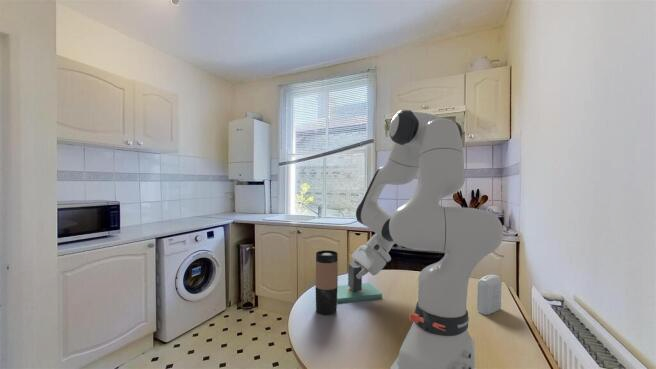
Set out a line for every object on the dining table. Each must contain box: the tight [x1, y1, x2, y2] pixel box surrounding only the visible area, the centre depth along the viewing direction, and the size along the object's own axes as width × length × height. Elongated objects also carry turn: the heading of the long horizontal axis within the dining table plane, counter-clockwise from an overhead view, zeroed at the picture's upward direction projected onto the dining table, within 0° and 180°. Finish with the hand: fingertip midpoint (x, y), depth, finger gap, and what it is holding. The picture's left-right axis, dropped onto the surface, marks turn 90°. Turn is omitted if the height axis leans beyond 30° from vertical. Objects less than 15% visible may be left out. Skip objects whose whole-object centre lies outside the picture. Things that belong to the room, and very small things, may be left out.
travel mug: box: [315, 249, 339, 316], centre depth 98 cm, size 8×8×20 cm
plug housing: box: [347, 262, 363, 291], centre depth 112 cm, size 6×3×9 cm, turn 15°
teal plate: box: [337, 282, 383, 304], centre depth 112 cm, size 12×18×6 cm, turn 105°
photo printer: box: [476, 274, 503, 316], centre depth 99 cm, size 10×4×12 cm, turn 123°
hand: (353, 274), depth 112 cm, fingers closed on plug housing, 6 cm apart
